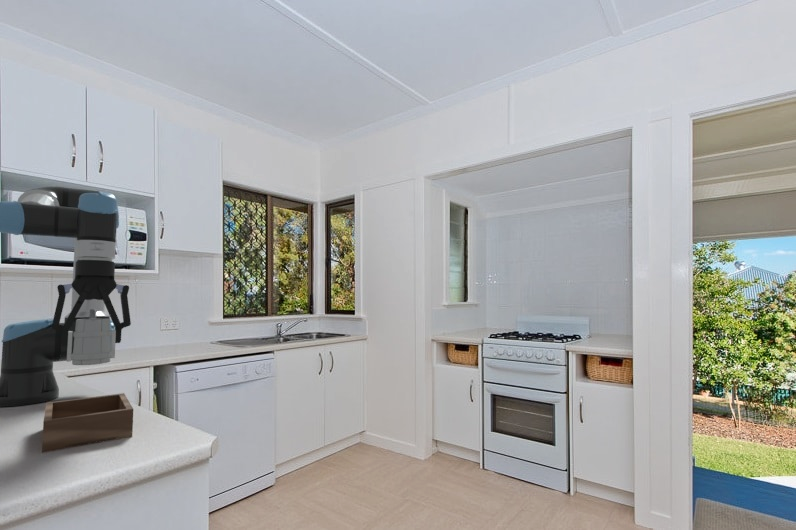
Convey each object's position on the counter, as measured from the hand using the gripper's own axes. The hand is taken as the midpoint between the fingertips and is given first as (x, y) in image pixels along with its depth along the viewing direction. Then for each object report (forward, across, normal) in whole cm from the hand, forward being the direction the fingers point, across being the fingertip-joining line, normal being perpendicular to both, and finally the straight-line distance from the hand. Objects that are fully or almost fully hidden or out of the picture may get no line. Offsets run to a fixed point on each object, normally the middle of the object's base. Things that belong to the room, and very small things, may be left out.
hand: (91, 358), depth 98 cm
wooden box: (+17, 0, 0) cm, 17 cm away
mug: (+1, 0, 0) cm, 1 cm away
